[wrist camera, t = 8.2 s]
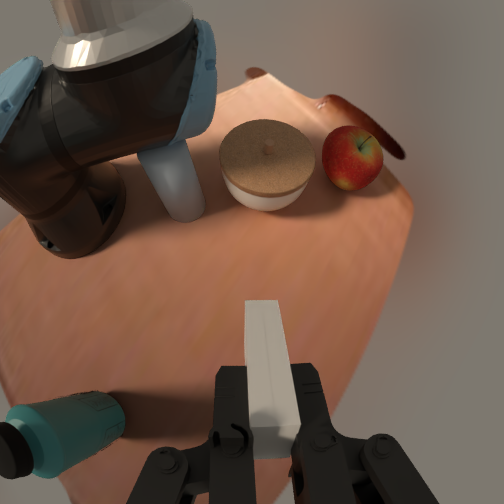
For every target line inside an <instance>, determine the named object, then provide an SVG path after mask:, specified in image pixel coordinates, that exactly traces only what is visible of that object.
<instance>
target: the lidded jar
mask: <svg viewBox="0 0 504 504" xmlns="http://www.w3.org/2000/svg"><path fill="white" fill-rule="evenodd" d="M219 156H220V164H221V169H222V174H223V178H224V181H225V184H226V186H227V188H228V190H229V191H230V193H231V194H232V196H233V197H234V198H235V199H236V200H237V201H239V202H240V203H241V204H243V205H244V206H246V207H248V208H251V209H253V210H258V211H274V210H278V209H281V208H284V207H286V206H288V205H289V204H291V203H292V202H293V201H295V200H296V199H297V198H298V197H299V195H300V194H301V193H302V192H303V190H304V189H305V187H306V185H307V183H308V181H309V179H310V178H311V176H312V174H313V171H314V168H315V163H316V158H315V152H314V149H313V147H312V145H311V143H310V142H309V140H308V139H307V138H306V137H305V135H304V134H302V133H301V132H300V131H299V130H298V129H296V128H294V127H293V126H290V125H288V124H286V123H283V122H280V121H275V120H267V119H259V120H253V121H249V122H245V123H243V124H241V125H239V126H237V127H235V128H234V129H233V130H231V131H230V132H229V133H228V134H227V135H226V136H225V138H224V140H223V141H222V144H221V146H220V152H219Z"/></svg>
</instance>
